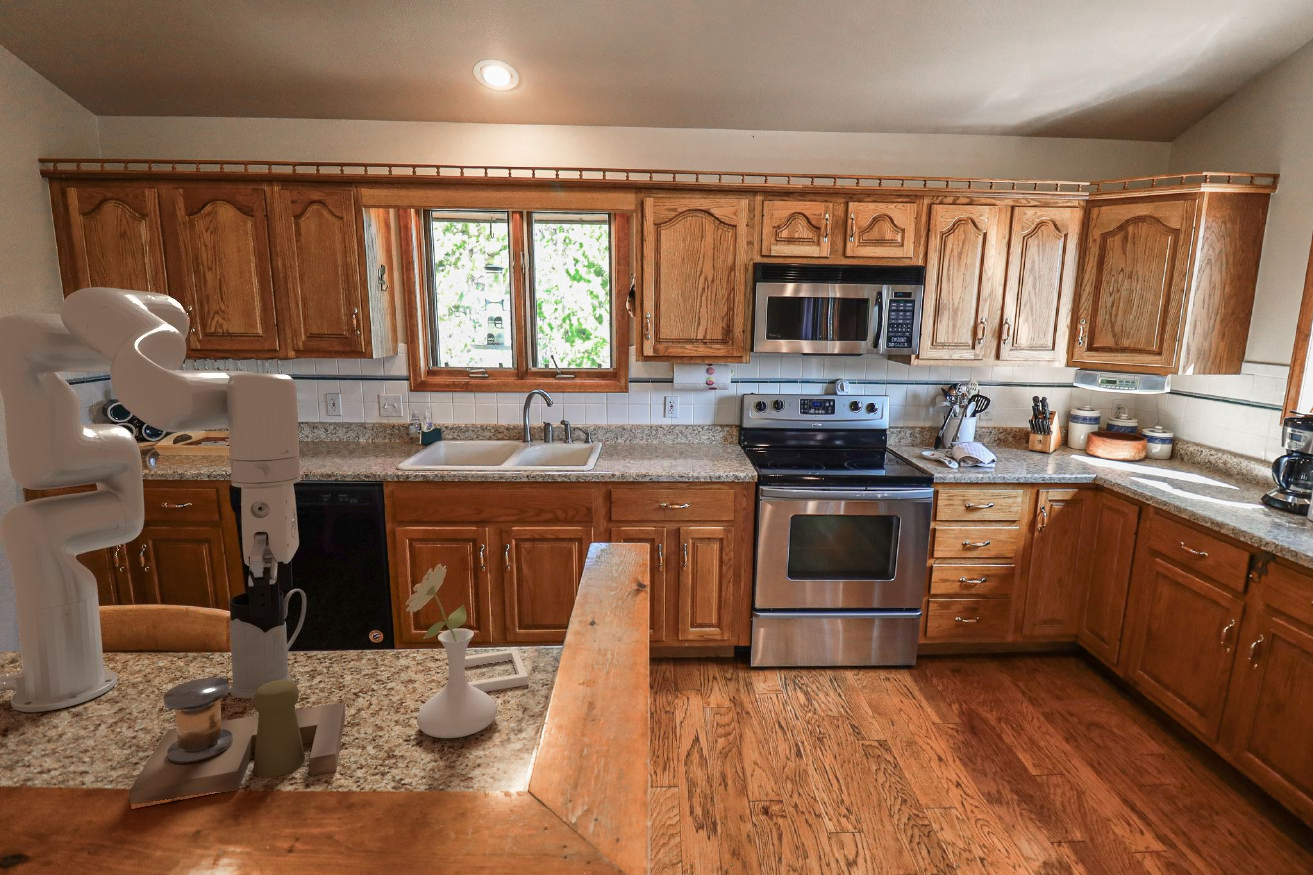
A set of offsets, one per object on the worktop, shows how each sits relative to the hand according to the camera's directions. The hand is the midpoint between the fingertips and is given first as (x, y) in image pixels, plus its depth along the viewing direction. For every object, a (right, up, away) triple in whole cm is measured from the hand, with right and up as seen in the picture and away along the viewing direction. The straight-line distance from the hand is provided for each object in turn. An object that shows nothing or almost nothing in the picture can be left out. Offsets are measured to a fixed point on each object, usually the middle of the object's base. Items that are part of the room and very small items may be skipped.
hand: (272, 602), depth 86 cm
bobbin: (-10, -19, +1) cm, 22 cm away
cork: (0, -22, +2) cm, 22 cm away
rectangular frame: (+21, -20, +28) cm, 40 cm away
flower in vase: (+20, -21, +12) cm, 31 cm away
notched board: (-5, -22, +3) cm, 23 cm away
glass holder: (-15, -20, +26) cm, 36 cm away
